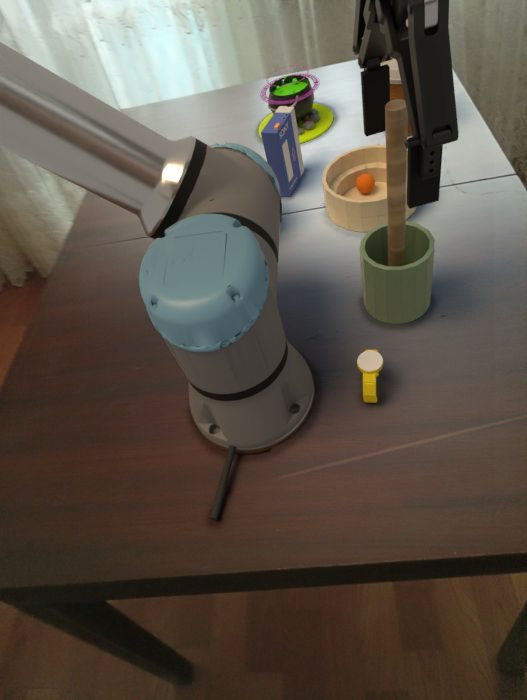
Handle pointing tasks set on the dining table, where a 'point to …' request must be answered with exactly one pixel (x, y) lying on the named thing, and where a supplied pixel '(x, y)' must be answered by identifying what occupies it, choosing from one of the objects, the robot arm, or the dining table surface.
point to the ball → (365, 183)
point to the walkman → (283, 149)
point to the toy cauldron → (298, 104)
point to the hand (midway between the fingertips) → (397, 164)
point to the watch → (370, 373)
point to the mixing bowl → (344, 197)
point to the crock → (397, 275)
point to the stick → (396, 179)
